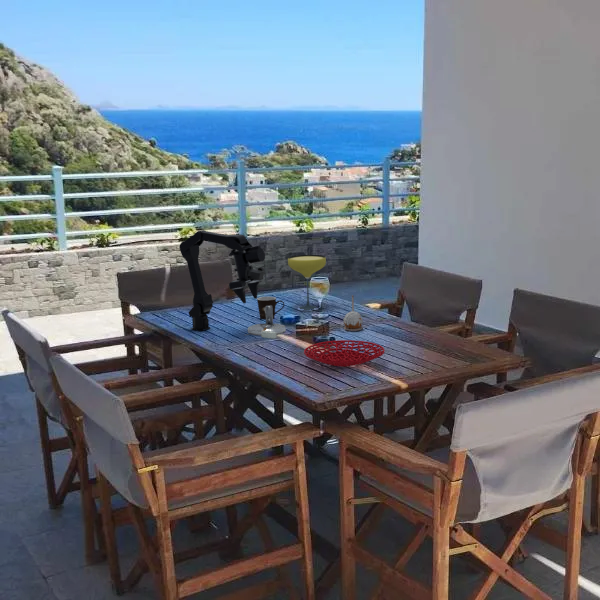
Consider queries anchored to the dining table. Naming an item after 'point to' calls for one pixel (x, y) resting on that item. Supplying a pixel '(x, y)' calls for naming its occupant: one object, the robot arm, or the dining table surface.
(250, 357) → the dining table surface
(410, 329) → the dining table surface
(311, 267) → the cocktail glass
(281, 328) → the turntable platter
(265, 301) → the coffee mug
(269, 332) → the base plate
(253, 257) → the robot arm
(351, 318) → the decorative ornament
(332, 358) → the bowl
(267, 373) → the dining table surface
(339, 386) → the dining table surface
